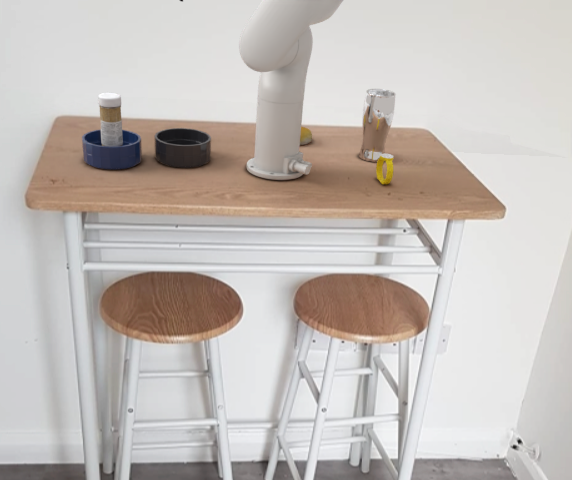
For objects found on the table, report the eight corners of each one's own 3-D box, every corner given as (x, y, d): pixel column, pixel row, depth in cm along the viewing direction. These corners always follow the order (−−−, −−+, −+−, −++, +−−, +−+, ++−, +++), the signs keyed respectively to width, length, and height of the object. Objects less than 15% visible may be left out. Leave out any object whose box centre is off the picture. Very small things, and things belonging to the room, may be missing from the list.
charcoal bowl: (221, 160, 157) (222, 137, 154) (183, 172, 148) (183, 149, 145) (182, 146, 162) (182, 124, 160) (143, 158, 154) (142, 135, 151)
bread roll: (293, 148, 167) (295, 131, 165) (269, 137, 173) (271, 121, 171) (319, 142, 172) (321, 126, 170) (295, 132, 177) (296, 116, 175)
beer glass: (358, 151, 169) (367, 86, 161) (387, 155, 168) (397, 90, 160) (355, 160, 163) (363, 94, 155) (385, 164, 162) (395, 98, 154)
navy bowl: (153, 161, 152) (152, 138, 150) (110, 175, 144) (108, 151, 141) (115, 147, 158) (114, 125, 156) (71, 159, 150) (69, 136, 147)
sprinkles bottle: (111, 153, 153) (107, 90, 146) (128, 158, 152) (125, 94, 145) (97, 159, 150) (93, 94, 143) (114, 164, 148) (111, 99, 141)
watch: (371, 177, 154) (375, 150, 151) (383, 176, 155) (387, 150, 152) (381, 187, 150) (386, 160, 146) (394, 187, 150) (398, 160, 147)
